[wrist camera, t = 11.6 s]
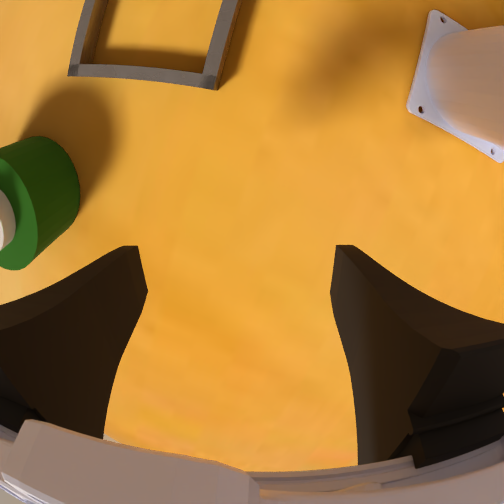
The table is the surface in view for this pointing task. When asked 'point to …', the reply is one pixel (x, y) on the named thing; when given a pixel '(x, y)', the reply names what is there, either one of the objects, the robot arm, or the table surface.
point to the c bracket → (208, 80)
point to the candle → (34, 198)
